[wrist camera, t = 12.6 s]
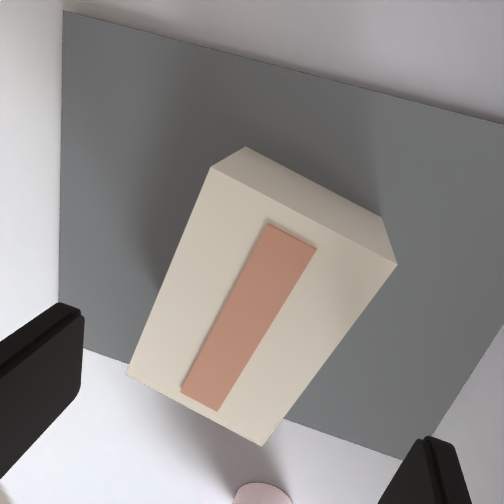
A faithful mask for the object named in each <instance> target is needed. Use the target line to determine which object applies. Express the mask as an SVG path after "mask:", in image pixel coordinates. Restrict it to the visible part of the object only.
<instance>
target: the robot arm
mask: <svg viewBox="0 0 504 504" xmlns="http://www.w3.org/2000/svg"><path fill="white" fill-rule="evenodd" d="M84 326H85V318H84V316H82V315H81V311H80V309H78V308H76V307H73V306H70V305H67V304H65V303H62V302H58V303H56V304H54V305H53V306H51V307H50V308H49V309H47V310H46V311H44V312H43V313H41V314H40V315H38V316H37V317H35V318H34V319H33V320H31V321H30V322H28V323H27V324H25V325H24V326H22V327H21V328H19V329H18V330H17V331H15V332H14V333H12V334H11V335H9V336H8V337H6V338H5V339H3V340H2V341H1V342H0V479H1V478H2V477H3V476H4V475H5V474H6V473H7V471H8V470H9V469H10V468H11V467H12V466H13V465H14V464H15V463H16V462H17V461H18V460H19V458H20V457H21V456H22V455H23V454H24V453H25V452H26V451H27V450H28V449H29V448H30V447H31V445H32V444H33V443H34V442H35V441H36V440H37V439H38V438H39V437H40V436H41V435H42V434H43V432H44V431H45V430H46V429H47V428H48V427H49V426H50V425H51V424H52V423H53V422H54V421H55V419H56V418H57V417H58V416H59V415H60V414H61V413H62V412H63V411H64V410H65V409H66V408H67V406H68V405H69V404H70V403H71V402H72V401H73V400H74V399H75V397H76V396H77V394H78V392H79V390H80V386H81V371H82V356H83V341H84ZM378 504H472V502H471V499H470V496H469V492H468V489H467V486H466V483H465V480H464V476H463V473H462V470H461V467H460V464H459V460H458V457H457V454H456V451H455V448H454V446H453V445H452V444H451V443H448V442H445V441H442V440H440V439H437V438H434V437H431V436H426V437H424V439H423V440H422V439H419V438H418V439H417V440H416V441H415V442H414V444H413V446H412V447H411V449H410V451H409V452H408V454H407V455H406V457H405V459H404V460H403V462H402V464H401V465H400V467H399V469H398V470H397V472H396V474H395V475H394V477H393V479H392V480H391V482H390V484H389V485H388V487H387V489H386V490H385V492H384V494H383V495H382V497H381V498H380V500H379V502H378Z"/></svg>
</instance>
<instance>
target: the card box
mask: <svg viewBox="0 0 504 504" xmlns="http://www.w3.org/2000/svg"><path fill="white" fill-rule="evenodd" d="M396 266H397V262H396V259H395V256H394V253H393V250H392V247H391V244H390V241H389V238H388V235H387V232H386V229H385V226H384V223H383V220H382V217H380V216H378V215H376V214H374V213H372V212H370V211H368V210H367V209H365V208H363V207H361V206H359V205H357V204H355V203H353V202H351V201H349V200H347V199H346V198H344V197H342V196H340V195H338V194H336V193H334V192H332V191H330V190H328V189H326V188H325V187H323V186H321V185H319V184H317V183H315V182H313V181H311V180H309V179H307V178H305V177H304V176H302V175H300V174H298V173H296V172H294V171H292V170H290V169H288V168H286V167H284V166H283V165H281V164H279V163H277V162H275V161H273V160H271V159H269V158H267V157H265V156H263V155H262V154H260V153H258V152H256V151H254V150H252V149H250V148H248V147H246V146H245V147H244V148H242V149H240V150H239V151H237V152H235V153H233V154H232V155H230V156H228V157H226V158H225V159H223V160H221V161H220V162H218V163H216V164H214V165H213V166H211V167H210V169H209V172H208V174H207V177H206V179H205V182H204V184H203V186H202V189H201V191H200V194H199V196H198V199H197V201H196V203H195V206H194V208H193V211H192V213H191V216H190V218H189V220H188V223H187V225H186V228H185V230H184V233H183V235H182V238H181V240H180V242H179V245H178V247H177V250H176V252H175V255H174V257H173V259H172V262H171V264H170V267H169V269H168V272H167V274H166V276H165V279H164V281H163V284H162V286H161V289H160V291H159V293H158V296H157V298H156V301H155V303H154V306H153V308H152V310H151V313H150V315H149V318H148V320H147V323H146V325H145V327H144V330H143V332H142V335H141V337H140V340H139V342H138V344H137V347H136V349H135V352H134V354H133V357H132V359H131V361H130V364H129V366H128V369H127V371H126V374H125V375H127V376H129V377H131V378H133V379H135V380H137V381H139V382H140V383H142V384H144V385H146V386H148V387H150V388H152V389H154V390H156V391H157V392H159V393H161V394H163V395H165V396H167V397H169V398H171V399H172V400H174V401H176V402H178V403H180V404H182V405H184V406H186V407H188V408H189V409H191V410H193V411H195V412H197V413H199V414H201V415H203V416H205V417H206V418H208V419H210V420H212V421H214V422H216V423H218V424H220V425H222V426H223V427H225V428H227V429H229V430H231V431H233V432H235V433H237V434H239V435H240V436H242V437H244V438H246V439H248V440H250V441H252V442H254V443H256V444H257V445H259V446H261V447H262V446H263V445H264V443H265V442H266V441H267V439H268V438H269V437H270V435H271V434H272V433H273V431H274V430H275V429H276V427H277V426H278V425H279V423H280V422H281V421H282V419H283V418H284V416H285V415H286V414H287V412H288V411H289V410H290V408H291V407H292V406H293V404H294V403H295V402H296V400H297V399H298V398H299V396H300V395H301V394H302V392H303V391H304V390H305V388H306V387H307V386H308V384H309V383H310V382H311V380H312V379H313V378H314V376H315V375H316V374H317V372H318V371H319V370H320V368H321V367H322V365H323V364H324V363H325V361H326V360H327V359H328V357H329V356H330V355H331V353H332V352H333V351H334V349H335V348H336V347H337V345H338V344H339V343H340V341H341V340H342V339H343V337H344V336H345V335H346V333H347V332H348V331H349V329H350V328H351V327H352V325H353V324H354V323H355V321H356V320H357V318H358V317H359V316H360V314H361V313H362V312H363V310H364V309H365V308H366V306H367V305H368V304H369V302H370V301H371V300H372V298H373V297H374V296H375V294H376V293H377V292H378V290H379V289H380V288H381V286H382V285H383V284H384V282H385V281H386V280H387V278H388V277H389V276H390V274H391V273H392V271H393V270H394V269H395V267H396Z"/></svg>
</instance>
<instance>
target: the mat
mask: <svg viewBox="0 0 504 504" xmlns="http://www.w3.org/2000/svg"><path fill="white" fill-rule="evenodd" d="M245 146H246V147H248V148H250V149H252V150H254V151H256V152H258V153H260V154H262V155H263V156H265V157H267V158H269V159H271V160H273V161H275V162H277V163H279V164H281V165H283V166H284V167H286V168H288V169H290V170H292V171H294V172H296V173H298V174H300V175H302V176H304V177H305V178H307V179H309V180H311V181H313V182H315V183H317V184H319V185H321V186H323V187H325V188H326V189H328V190H330V191H332V192H334V193H336V194H338V195H340V196H342V197H344V198H346V199H347V200H349V201H351V202H353V203H355V204H357V205H359V206H361V207H363V208H365V209H367V210H368V211H370V212H372V213H374V214H376V215H378V216H380V217H382V220H383V223H384V226H385V229H386V232H387V235H388V238H389V241H390V244H391V247H392V250H393V253H394V256H395V259H396V262H397V266H396V267H395V269H394V270H393V271H392V273H391V274H390V276H389V277H388V278H387V280H386V281H385V282H384V284H383V285H382V286H381V288H380V289H379V290H378V292H377V293H376V294H375V296H374V297H373V298H372V300H371V301H370V302H369V304H368V305H367V306H366V308H365V309H364V310H363V312H362V313H361V314H360V316H359V317H358V318H357V320H356V321H355V323H354V324H353V325H352V327H351V328H350V329H349V331H348V332H347V333H346V335H345V336H344V337H343V339H342V340H341V341H340V343H339V344H338V345H337V347H336V348H335V349H334V351H333V352H332V353H331V355H330V356H329V357H328V359H327V360H326V361H325V363H324V364H323V365H322V367H321V368H320V370H319V371H318V372H317V374H316V375H315V376H314V378H313V379H312V380H311V382H310V383H309V384H308V386H307V387H306V388H305V390H304V391H303V392H302V394H301V395H300V396H299V398H298V399H297V400H296V402H295V403H294V404H293V406H292V407H291V408H290V410H289V411H288V412H287V414H286V415H285V416H284V419H287V420H289V421H292V422H295V423H298V424H301V425H304V426H306V427H309V428H312V429H315V430H318V431H321V432H323V433H326V434H329V435H332V436H335V437H338V438H341V439H343V440H346V441H349V442H352V443H355V444H358V445H360V446H363V447H366V448H369V449H372V450H375V451H378V452H380V453H383V454H386V455H389V456H392V457H395V458H397V459H400V460H404V459H405V457H406V455H407V454H408V452H409V451H410V449H411V447H412V446H413V444H414V442H415V441H416V440H417V439H418V438H419V439H422V440H423V439H424V437H426V436H431V435H432V434H433V432H434V431H435V429H436V428H437V426H438V424H439V423H440V421H441V420H442V418H443V417H444V415H445V414H446V412H447V410H448V409H449V407H450V406H451V404H452V403H453V401H454V400H455V398H456V396H457V395H458V393H459V392H460V390H461V389H462V387H463V386H464V384H465V383H466V381H467V379H468V378H469V376H470V375H471V373H472V372H473V370H474V369H475V367H476V365H477V364H478V362H479V361H480V359H481V358H482V356H483V355H484V353H485V351H486V350H487V348H488V347H489V345H490V344H491V342H492V341H493V339H494V337H495V336H496V334H497V333H498V331H499V330H500V328H501V327H502V325H503V324H504V125H502V124H499V123H495V122H491V121H487V120H483V119H479V118H476V117H472V116H468V115H464V114H460V113H456V112H452V111H449V110H445V109H441V108H437V107H433V106H429V105H426V104H422V103H418V102H414V101H410V100H406V99H402V98H399V97H395V96H391V95H387V94H383V93H379V92H376V91H372V90H368V89H364V88H360V87H356V86H353V85H349V84H345V83H341V82H337V81H333V80H329V79H326V78H322V77H318V76H314V75H310V74H306V73H303V72H299V71H295V70H291V69H287V68H283V67H279V66H276V65H272V64H268V63H264V62H260V61H256V60H253V59H249V58H245V57H241V56H237V55H233V54H229V53H226V52H222V51H218V50H214V49H210V48H206V47H203V46H199V45H195V44H191V43H187V42H183V41H179V40H176V39H172V38H168V37H164V36H160V35H156V34H153V33H149V32H145V31H141V30H137V29H133V28H129V27H126V26H122V25H118V24H114V23H110V22H106V21H103V20H99V19H95V18H91V17H87V16H83V15H79V14H76V13H72V12H68V11H64V10H63V44H62V109H61V173H60V238H59V302H62V303H65V304H67V305H70V306H73V307H76V308H78V309H80V311H81V315H82V316H84V318H85V326H84V341H83V348H84V349H87V350H90V351H93V352H96V353H99V354H102V355H104V356H107V357H110V358H113V359H116V360H119V361H121V362H124V363H127V364H130V361H131V359H132V357H133V354H134V352H135V349H136V347H137V344H138V342H139V340H140V337H141V335H142V332H143V330H144V327H145V325H146V323H147V320H148V318H149V315H150V313H151V310H152V308H153V306H154V303H155V301H156V298H157V296H158V293H159V291H160V289H161V286H162V284H163V281H164V279H165V276H166V274H167V272H168V269H169V267H170V264H171V262H172V259H173V257H174V255H175V252H176V250H177V247H178V245H179V242H180V240H181V238H182V235H183V233H184V230H185V228H186V225H187V223H188V220H189V218H190V216H191V213H192V211H193V208H194V206H195V203H196V201H197V199H198V196H199V194H200V191H201V189H202V186H203V184H204V182H205V179H206V177H207V174H208V172H209V169H210V167H211V166H213V165H214V164H216V163H218V162H220V161H221V160H223V159H225V158H226V157H228V156H230V155H232V154H233V153H235V152H237V151H239V150H240V149H242V148H244V147H245Z"/></svg>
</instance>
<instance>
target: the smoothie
mask: <svg viewBox="0 0 504 504" xmlns="http://www.w3.org/2000/svg"><path fill="white" fill-rule="evenodd" d="M232 504H293V503H292V501H291V499H290V498H289V497H288V496H287V494H285V493H284V492H283V491H282V490H280V489H278V488H276V487H274V486H272V485H269V484H265V483H249V484H245V485H243V486H242V487H240V488H239V489H238V491H237V493H236V496H235V498H234V501H233V503H232Z"/></svg>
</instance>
